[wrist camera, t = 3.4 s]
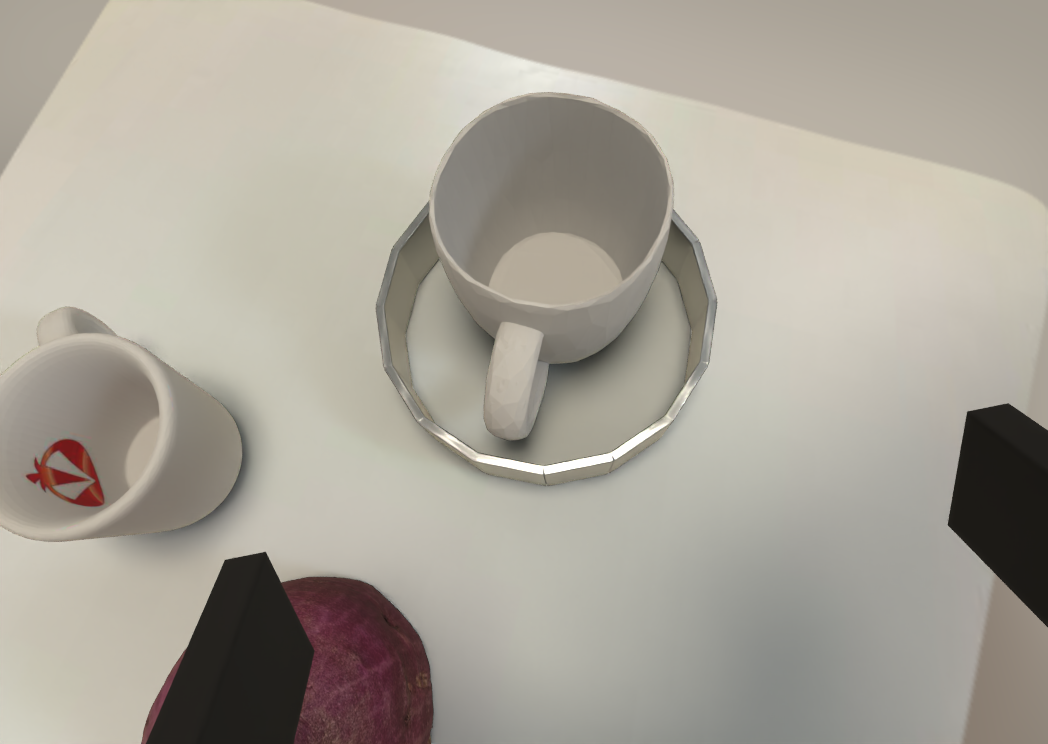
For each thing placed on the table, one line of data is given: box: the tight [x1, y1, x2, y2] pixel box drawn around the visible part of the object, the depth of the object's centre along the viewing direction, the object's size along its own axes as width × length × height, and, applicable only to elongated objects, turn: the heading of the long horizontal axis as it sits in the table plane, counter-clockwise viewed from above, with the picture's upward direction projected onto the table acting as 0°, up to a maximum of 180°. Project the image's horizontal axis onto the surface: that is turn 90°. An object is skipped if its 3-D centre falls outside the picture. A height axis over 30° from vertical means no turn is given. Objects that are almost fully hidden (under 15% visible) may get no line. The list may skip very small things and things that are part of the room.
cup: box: [0, 307, 242, 542], centre depth 29 cm, size 11×8×8 cm
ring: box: [376, 201, 717, 486], centre depth 31 cm, size 15×15×4 cm
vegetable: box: [141, 577, 433, 744], centre depth 23 cm, size 10×10×15 cm
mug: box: [429, 92, 674, 441], centre depth 28 cm, size 13×9×10 cm
